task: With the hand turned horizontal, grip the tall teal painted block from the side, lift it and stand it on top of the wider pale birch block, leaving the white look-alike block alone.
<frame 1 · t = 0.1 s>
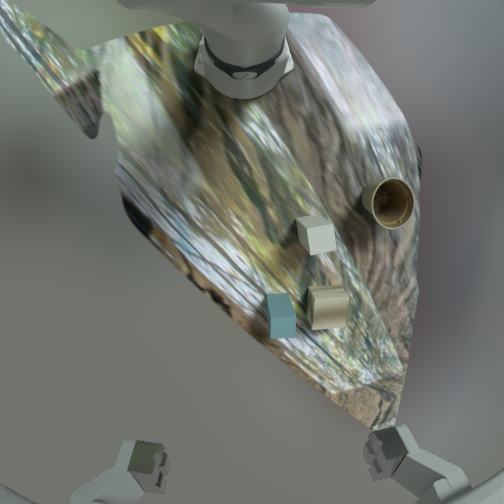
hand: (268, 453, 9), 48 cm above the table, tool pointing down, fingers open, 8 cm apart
birch block: (323, 300, 60), on the table
teal block: (277, 303, 60), on the table
flower pot: (373, 198, 55), on the table
white block: (308, 227, 56), on the table
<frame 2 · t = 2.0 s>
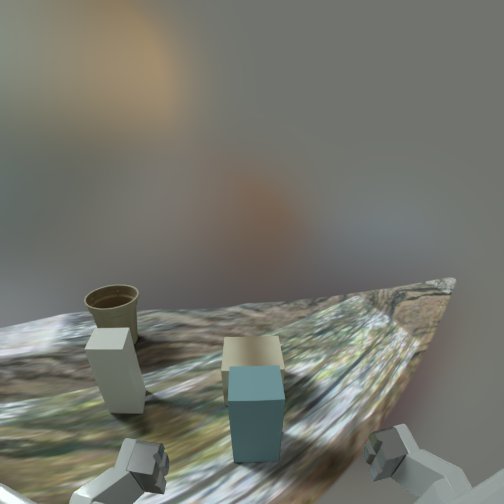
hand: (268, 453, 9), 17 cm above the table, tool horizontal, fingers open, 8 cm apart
birch block: (252, 387, 35), on the table
teal block: (255, 446, 25), on the table
flower pot: (121, 342, 44), on the table
white block: (128, 401, 31), on the table
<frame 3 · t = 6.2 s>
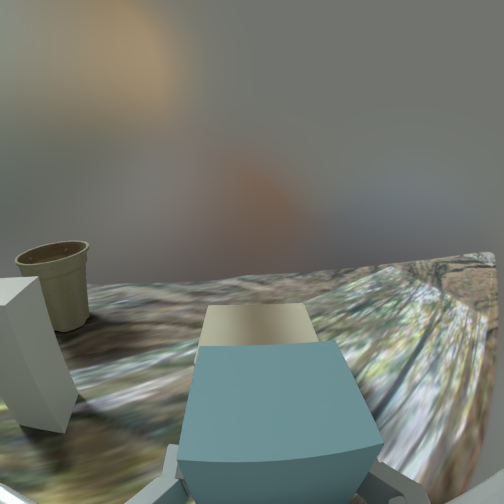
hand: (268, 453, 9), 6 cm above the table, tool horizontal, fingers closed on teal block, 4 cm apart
birch block: (258, 396, 19), on the table
flower pot: (68, 322, 28), on the table
white block: (48, 409, 15), on the table
when the fingers open (12 cm above the table, at t = 10.1 s): teal block drops 1 cm, resting on birch block.
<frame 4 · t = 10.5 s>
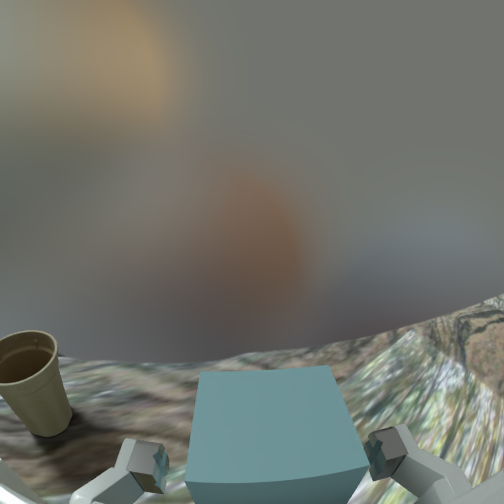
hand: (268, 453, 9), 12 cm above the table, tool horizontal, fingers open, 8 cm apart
flower pot: (50, 419, 21), on the table
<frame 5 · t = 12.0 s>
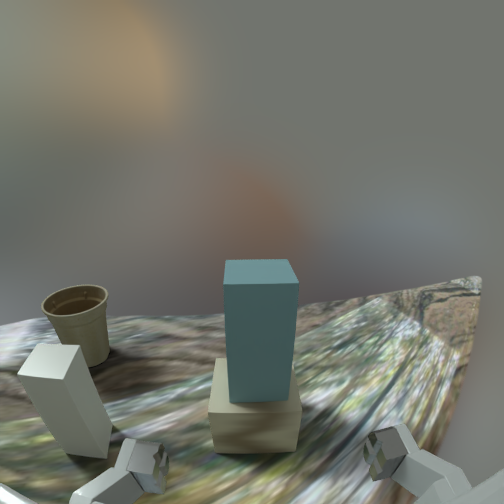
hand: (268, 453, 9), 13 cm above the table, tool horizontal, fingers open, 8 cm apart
birch block: (254, 426, 24), on the table, touching teal block
teal block: (257, 383, 22), point 6 cm above the table, touching birch block
flower pot: (90, 356, 33), on the table
white block: (89, 439, 20), on the table
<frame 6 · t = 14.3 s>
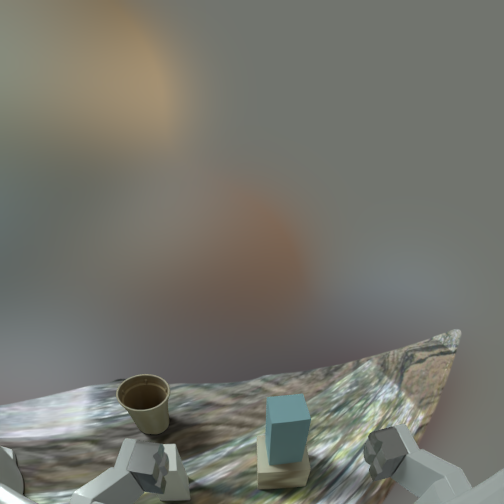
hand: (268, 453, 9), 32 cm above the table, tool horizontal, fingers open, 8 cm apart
birch block: (280, 471, 35), on the table, touching teal block
teal block: (282, 451, 33), point 6 cm above the table, touching birch block
flower pot: (153, 423, 44), on the table
white block: (174, 488, 30), on the table
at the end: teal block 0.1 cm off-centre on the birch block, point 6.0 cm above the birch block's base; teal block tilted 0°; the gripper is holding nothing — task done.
